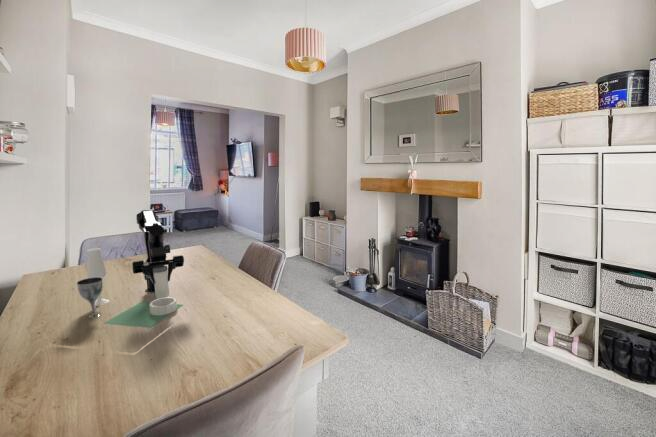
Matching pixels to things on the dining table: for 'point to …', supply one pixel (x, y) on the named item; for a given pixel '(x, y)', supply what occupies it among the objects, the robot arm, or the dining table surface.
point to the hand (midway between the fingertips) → (161, 282)
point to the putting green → (146, 313)
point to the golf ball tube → (161, 281)
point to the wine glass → (90, 291)
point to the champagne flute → (96, 269)
